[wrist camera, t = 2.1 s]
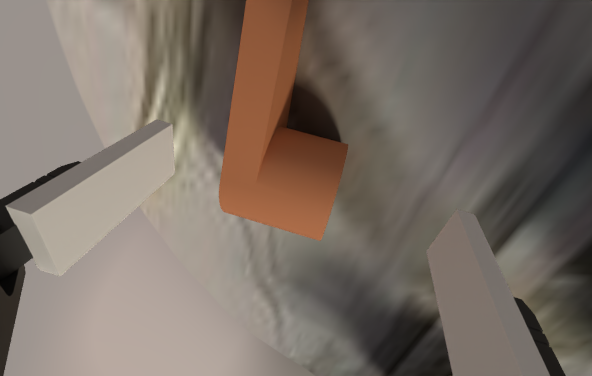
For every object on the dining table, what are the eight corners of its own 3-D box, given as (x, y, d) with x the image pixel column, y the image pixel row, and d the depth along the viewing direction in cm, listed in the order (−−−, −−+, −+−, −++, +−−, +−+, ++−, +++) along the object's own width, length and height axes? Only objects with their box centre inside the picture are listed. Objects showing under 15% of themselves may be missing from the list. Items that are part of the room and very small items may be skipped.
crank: (328, 201, 28) (314, 261, 22) (252, 180, 29) (218, 231, 23) (410, -59, 17) (432, -95, 10) (282, -85, 17) (227, -134, 11)
